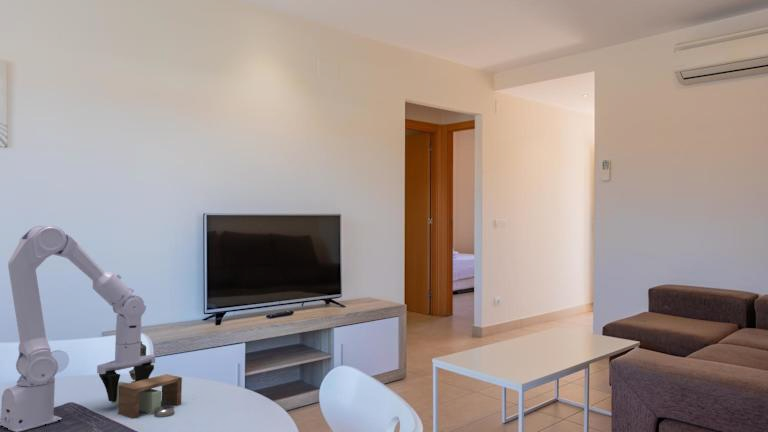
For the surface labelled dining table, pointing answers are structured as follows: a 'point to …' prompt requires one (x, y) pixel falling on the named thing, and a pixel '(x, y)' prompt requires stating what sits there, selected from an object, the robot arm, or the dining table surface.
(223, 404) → the dining table surface
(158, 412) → the disc
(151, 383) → the wooden bridge block
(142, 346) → the salt shaker
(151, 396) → the bar
